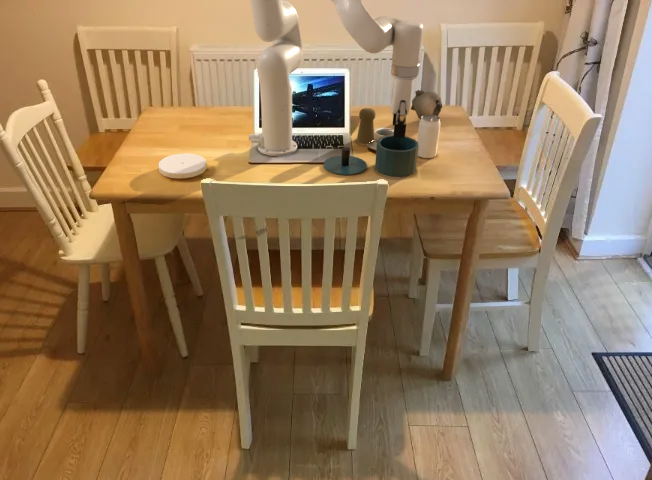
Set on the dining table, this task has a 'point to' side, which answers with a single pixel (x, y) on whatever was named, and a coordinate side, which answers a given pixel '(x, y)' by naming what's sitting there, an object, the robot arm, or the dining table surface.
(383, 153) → the pot
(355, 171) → the lid
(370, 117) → the cork
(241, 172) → the dining table surface
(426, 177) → the dining table surface
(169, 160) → the plastic lid
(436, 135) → the can
